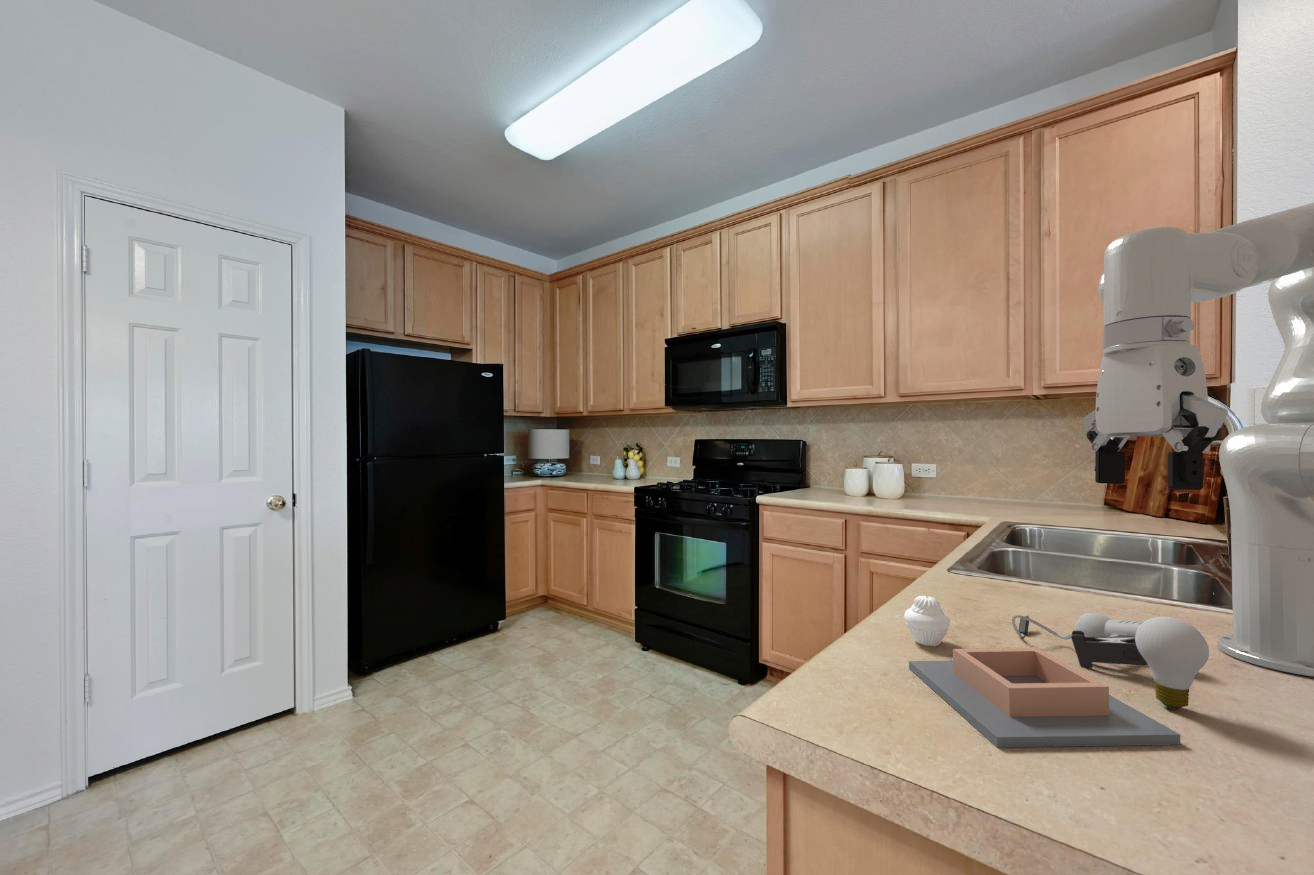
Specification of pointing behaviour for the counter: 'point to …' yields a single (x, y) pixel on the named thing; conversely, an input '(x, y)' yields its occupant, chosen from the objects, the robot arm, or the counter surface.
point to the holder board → (1036, 701)
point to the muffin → (927, 621)
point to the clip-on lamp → (1097, 639)
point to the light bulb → (1172, 657)
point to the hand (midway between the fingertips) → (1144, 486)
